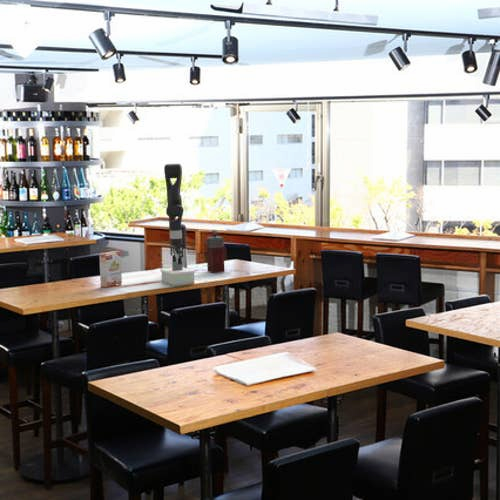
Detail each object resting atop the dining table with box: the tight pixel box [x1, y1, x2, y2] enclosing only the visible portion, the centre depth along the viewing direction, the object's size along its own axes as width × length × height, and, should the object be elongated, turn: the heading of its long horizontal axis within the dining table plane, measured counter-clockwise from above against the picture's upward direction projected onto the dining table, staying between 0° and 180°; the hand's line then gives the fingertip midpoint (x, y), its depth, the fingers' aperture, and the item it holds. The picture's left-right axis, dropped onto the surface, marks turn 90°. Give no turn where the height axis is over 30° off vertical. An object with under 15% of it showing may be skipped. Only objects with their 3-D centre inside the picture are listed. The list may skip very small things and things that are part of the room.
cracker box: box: [98, 250, 123, 288], centre depth 527 cm, size 14×6×21 cm, turn 148°
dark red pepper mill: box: [206, 229, 228, 274], centre depth 568 cm, size 9×11×28 cm
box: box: [161, 272, 195, 287], centre depth 529 cm, size 18×14×7 cm
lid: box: [160, 262, 196, 275], centre depth 528 cm, size 19×15×6 cm
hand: (177, 263), depth 528 cm, fingers open, 8 cm apart
